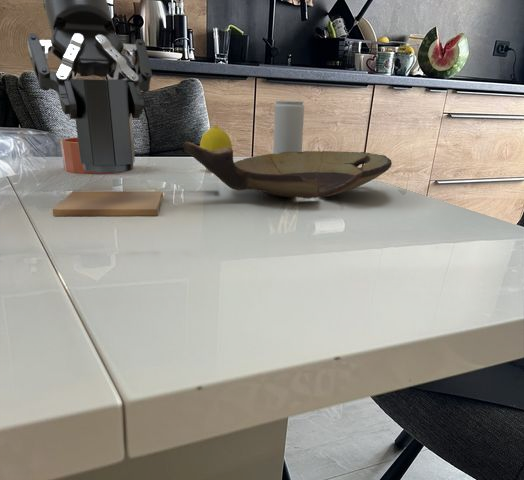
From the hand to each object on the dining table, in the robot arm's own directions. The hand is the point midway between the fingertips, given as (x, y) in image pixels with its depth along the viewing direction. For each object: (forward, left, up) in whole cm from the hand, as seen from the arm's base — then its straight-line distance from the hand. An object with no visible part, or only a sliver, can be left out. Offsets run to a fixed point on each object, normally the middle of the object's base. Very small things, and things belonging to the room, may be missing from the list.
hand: (106, 113), depth 64 cm
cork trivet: (-1, +2, -11) cm, 11 cm away
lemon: (+13, +28, -11) cm, 33 cm away
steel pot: (-1, +2, -6) cm, 7 cm away
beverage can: (+25, +26, -11) cm, 38 cm away
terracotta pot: (-7, +29, -11) cm, 31 cm away
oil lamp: (+23, +10, -11) cm, 28 cm away
